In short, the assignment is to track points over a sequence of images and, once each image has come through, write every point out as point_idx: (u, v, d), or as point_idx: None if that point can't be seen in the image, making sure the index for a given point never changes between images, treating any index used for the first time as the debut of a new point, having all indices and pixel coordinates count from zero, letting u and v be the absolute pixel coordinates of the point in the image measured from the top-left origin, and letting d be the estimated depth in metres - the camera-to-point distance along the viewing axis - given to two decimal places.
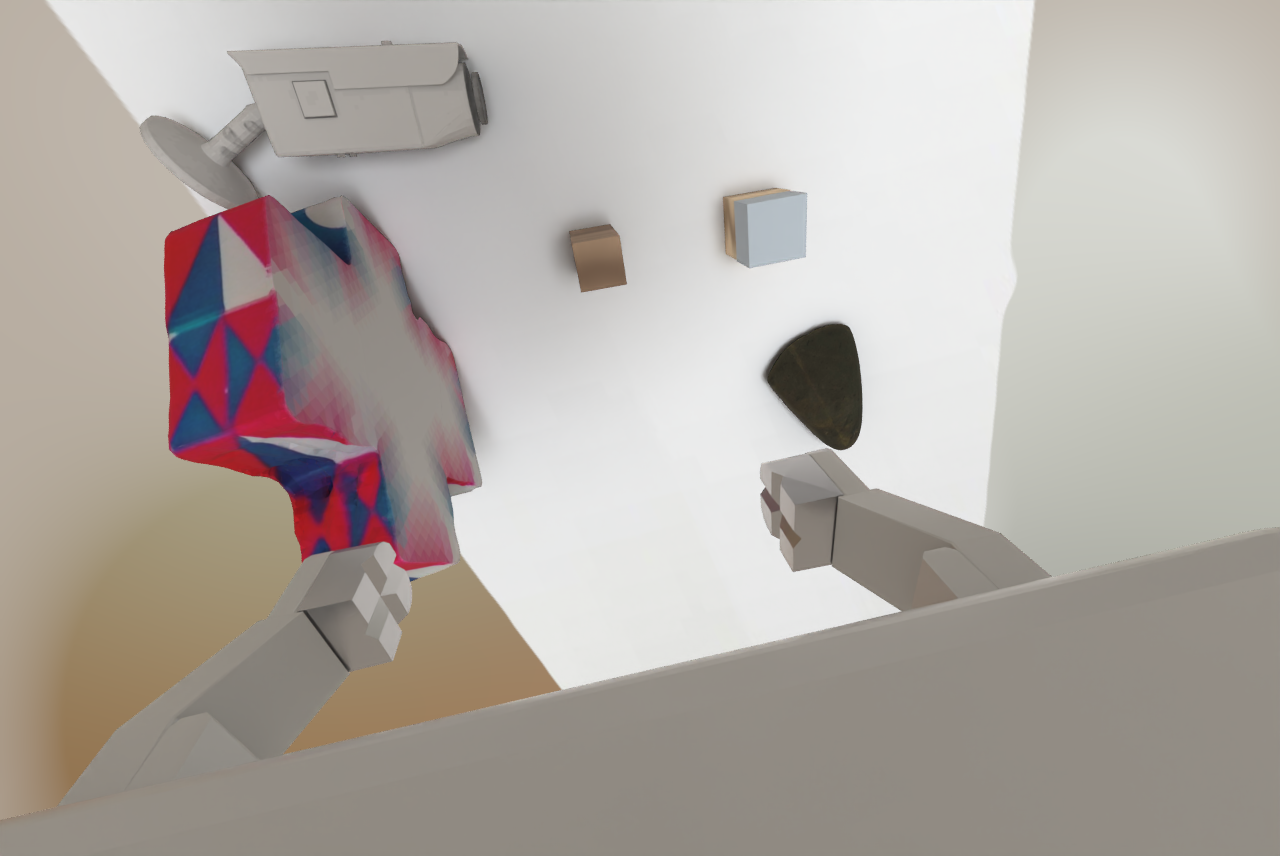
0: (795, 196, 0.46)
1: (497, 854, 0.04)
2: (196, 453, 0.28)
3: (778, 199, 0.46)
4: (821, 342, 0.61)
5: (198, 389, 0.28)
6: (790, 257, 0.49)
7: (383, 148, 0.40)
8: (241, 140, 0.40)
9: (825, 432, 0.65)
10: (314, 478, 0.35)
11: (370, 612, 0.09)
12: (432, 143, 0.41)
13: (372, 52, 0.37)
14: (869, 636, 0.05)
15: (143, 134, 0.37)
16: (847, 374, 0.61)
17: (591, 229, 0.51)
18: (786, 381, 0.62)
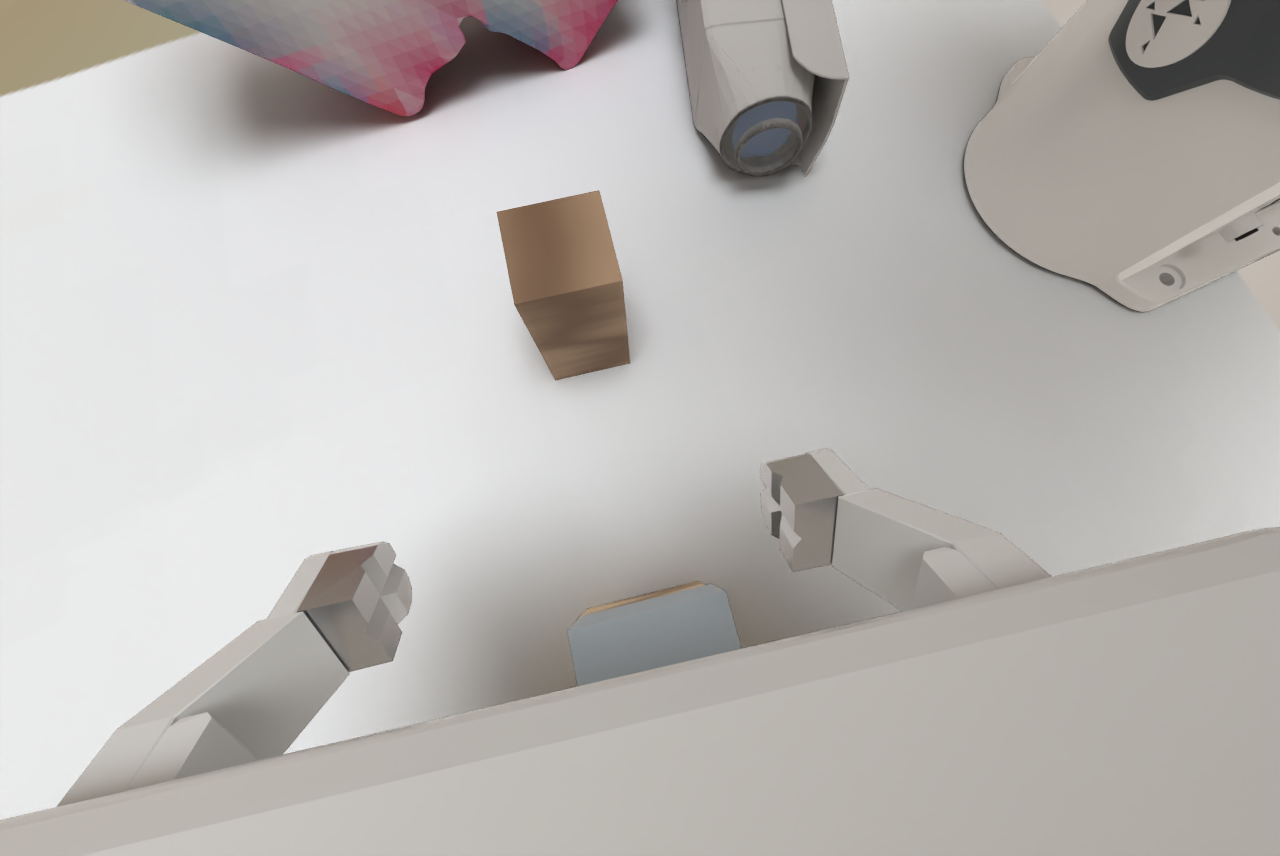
0: None
1: (497, 854, 0.04)
2: None
3: None
4: None
5: None
6: None
7: None
8: None
9: None
10: None
11: (370, 612, 0.09)
12: (710, 44, 0.26)
13: None
14: (869, 636, 0.05)
15: None
16: None
17: None
18: None
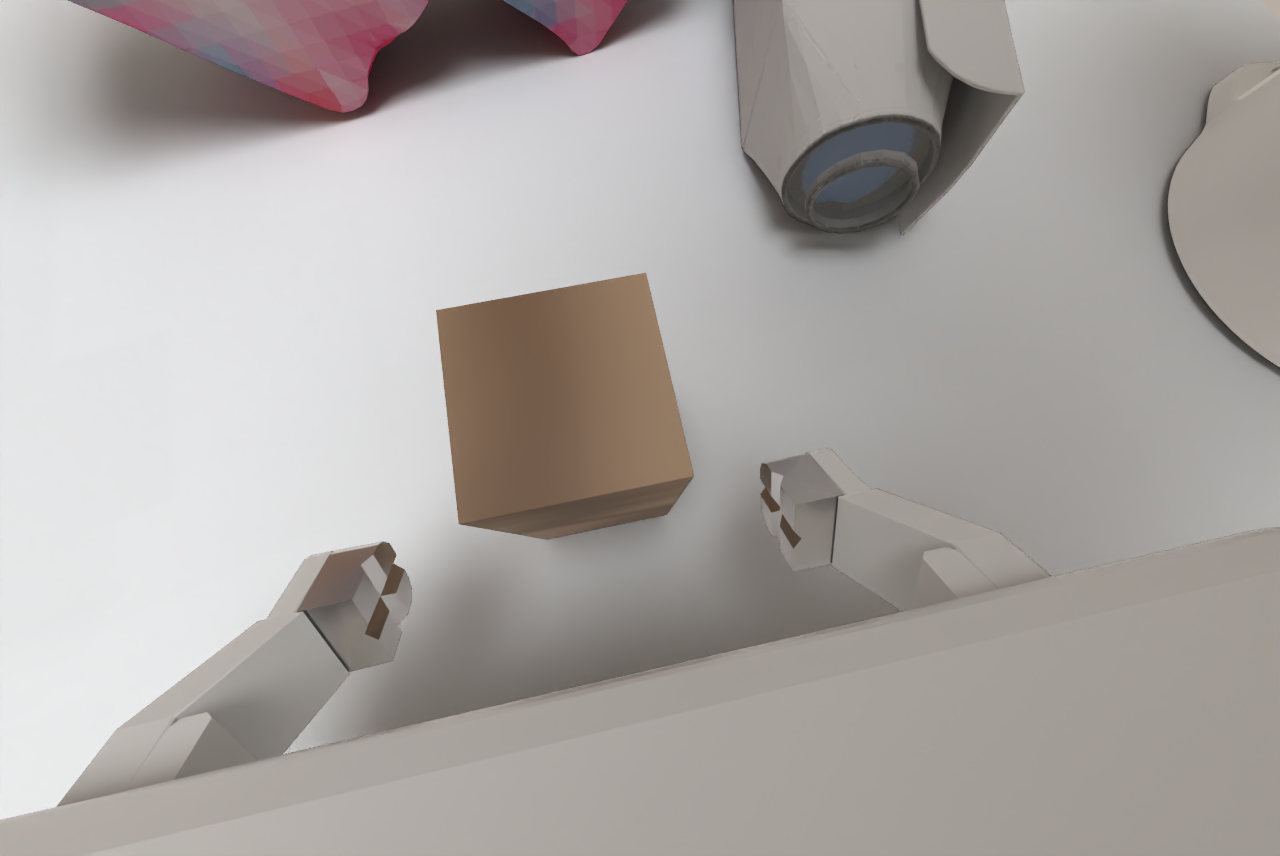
0: None
1: (497, 854, 0.04)
2: None
3: None
4: None
5: None
6: None
7: None
8: None
9: None
10: None
11: (370, 612, 0.09)
12: (787, 20, 0.16)
13: None
14: (869, 636, 0.05)
15: None
16: None
17: None
18: None
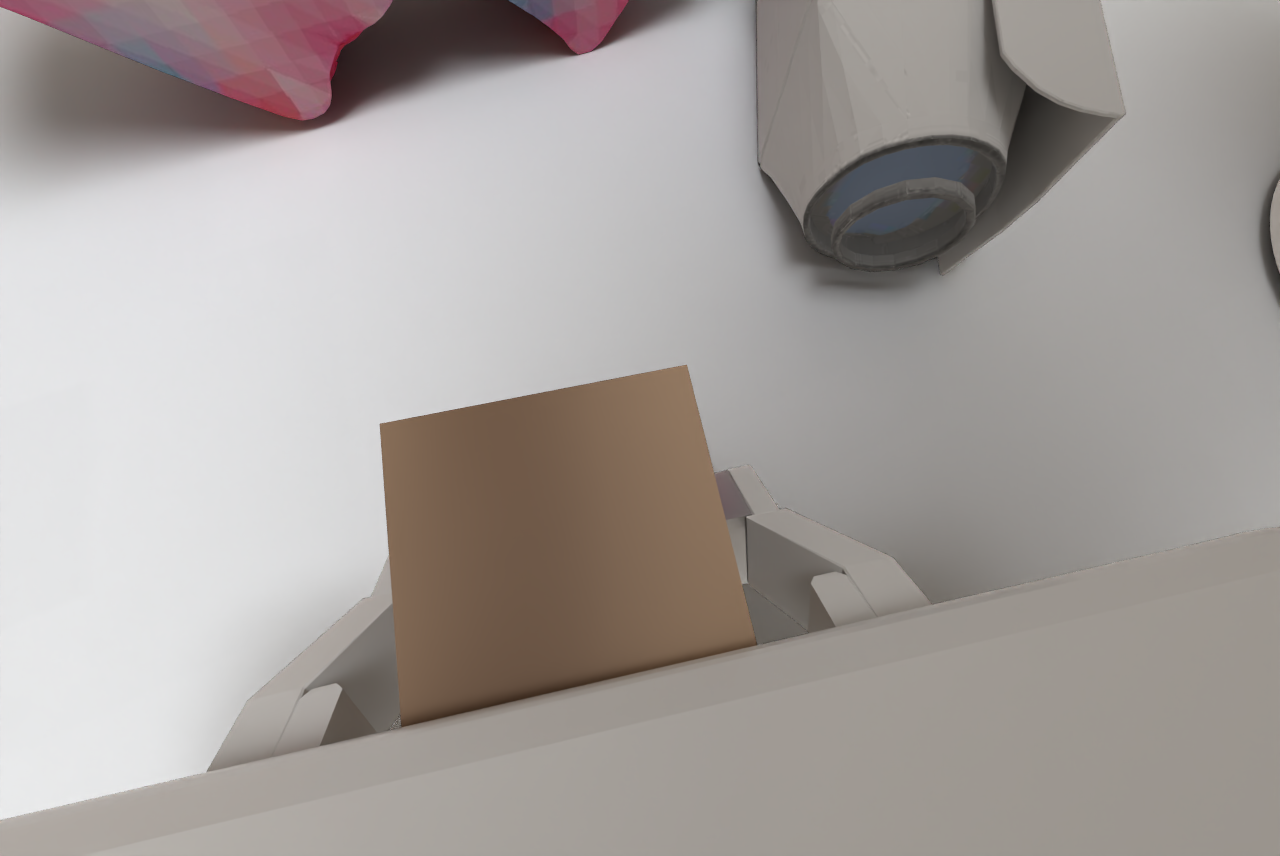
0: None
1: (497, 854, 0.04)
2: None
3: None
4: None
5: None
6: None
7: None
8: None
9: None
10: None
11: None
12: (822, 12, 0.13)
13: None
14: (869, 636, 0.05)
15: None
16: None
17: None
18: None
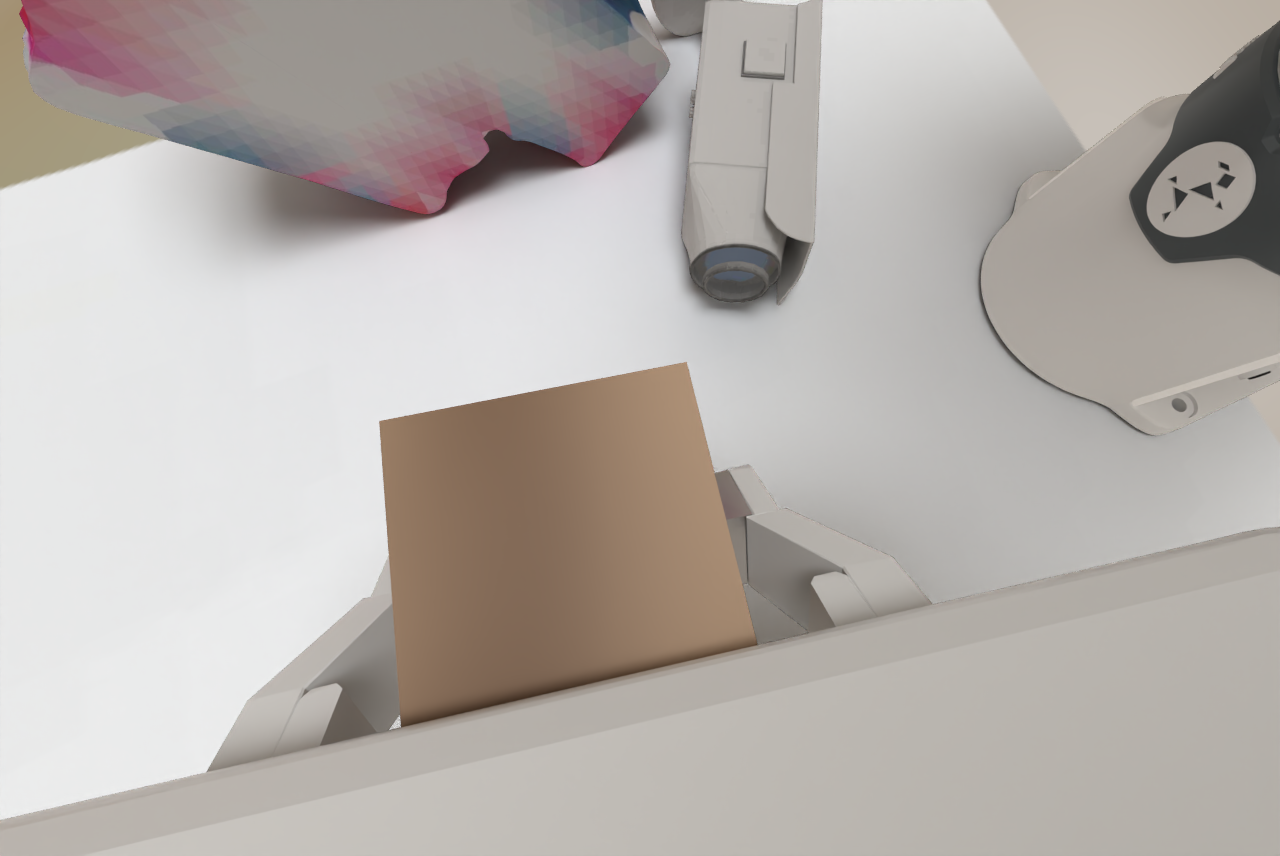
0: None
1: (497, 854, 0.04)
2: None
3: None
4: None
5: None
6: None
7: (695, 114, 0.27)
8: None
9: None
10: None
11: None
12: (691, 179, 0.27)
13: (810, 137, 0.26)
14: (868, 635, 0.05)
15: None
16: None
17: None
18: None
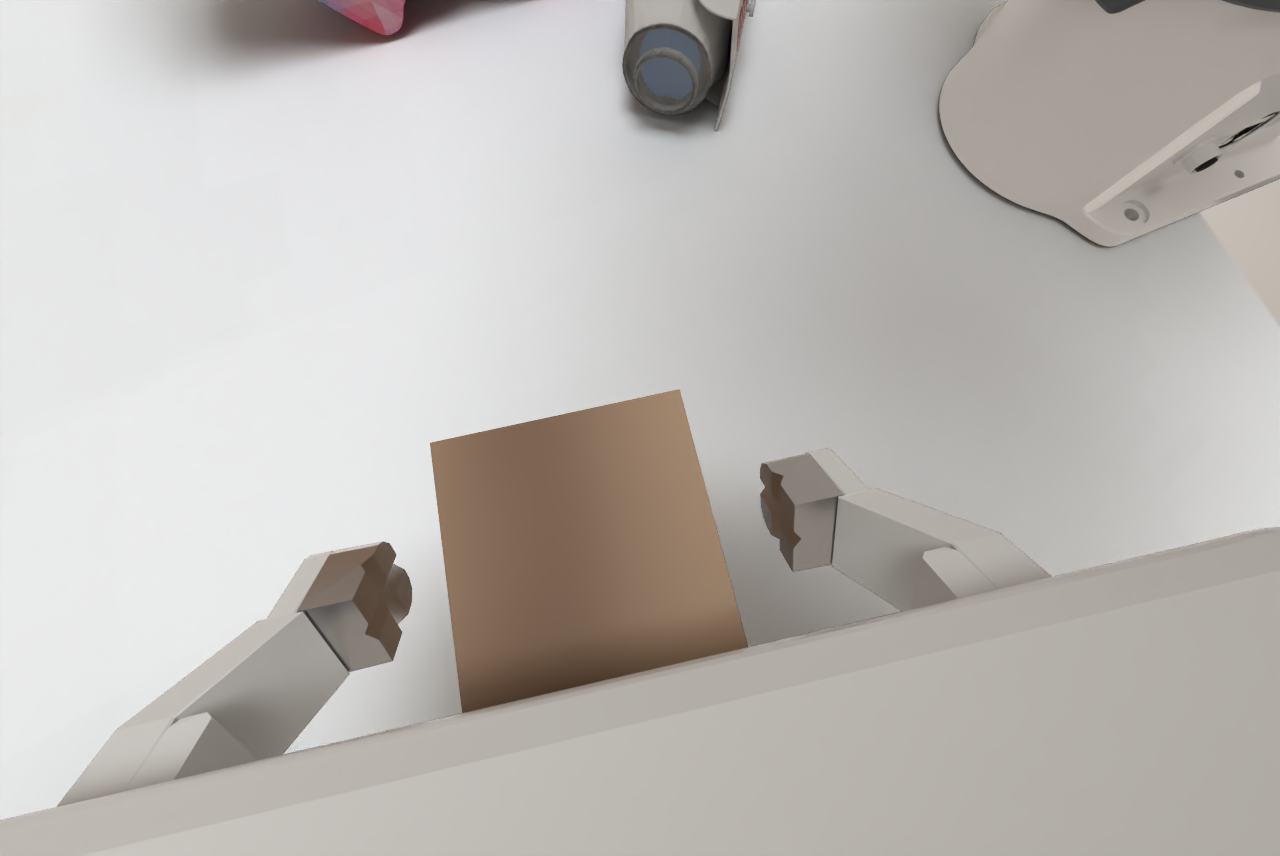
0: None
1: (497, 854, 0.04)
2: None
3: None
4: None
5: None
6: None
7: None
8: None
9: None
10: None
11: (370, 612, 0.09)
12: None
13: None
14: (869, 636, 0.05)
15: None
16: None
17: None
18: None
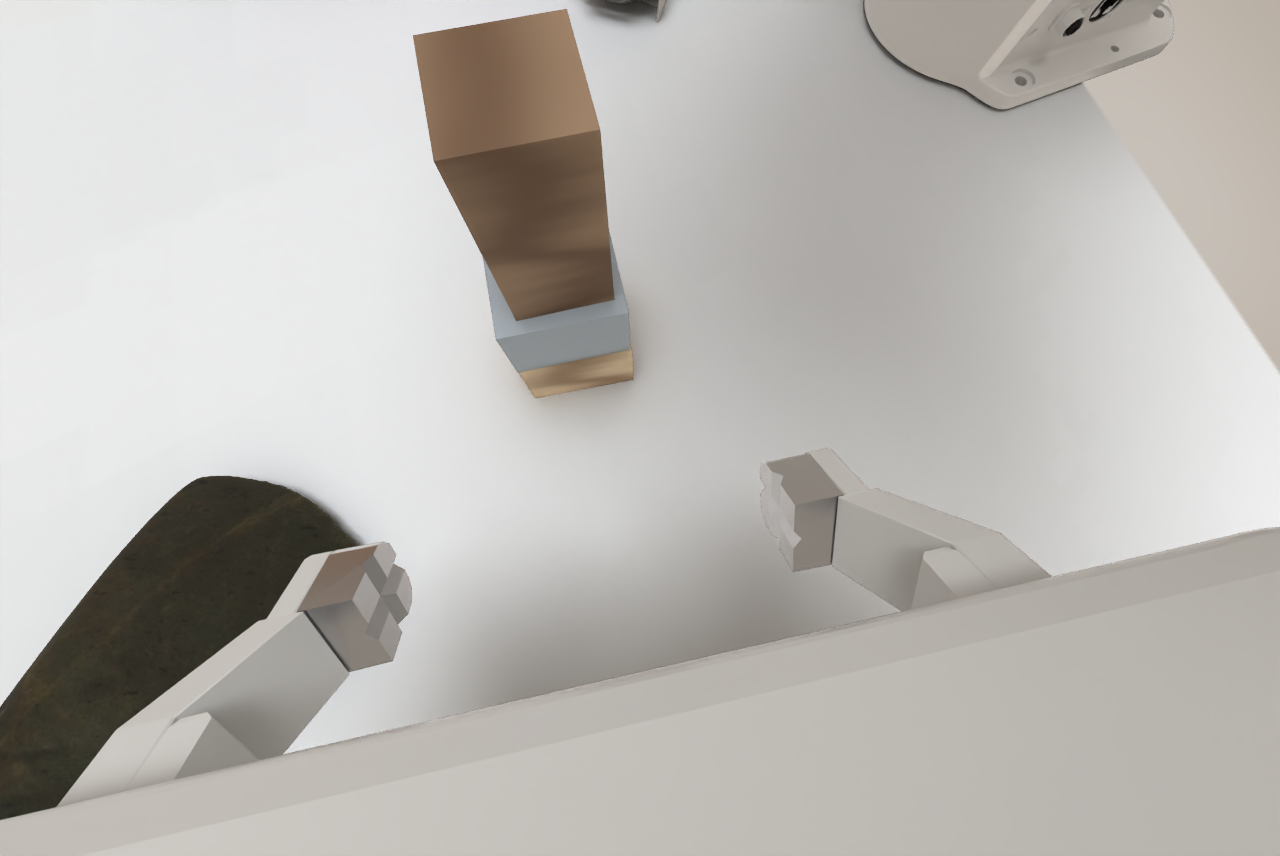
0: (621, 290, 0.22)
1: (497, 854, 0.04)
2: None
3: (613, 259, 0.22)
4: None
5: None
6: (496, 305, 0.22)
7: None
8: None
9: (3, 710, 0.20)
10: None
11: (370, 612, 0.09)
12: None
13: None
14: (869, 636, 0.05)
15: None
16: None
17: None
18: (188, 510, 0.24)
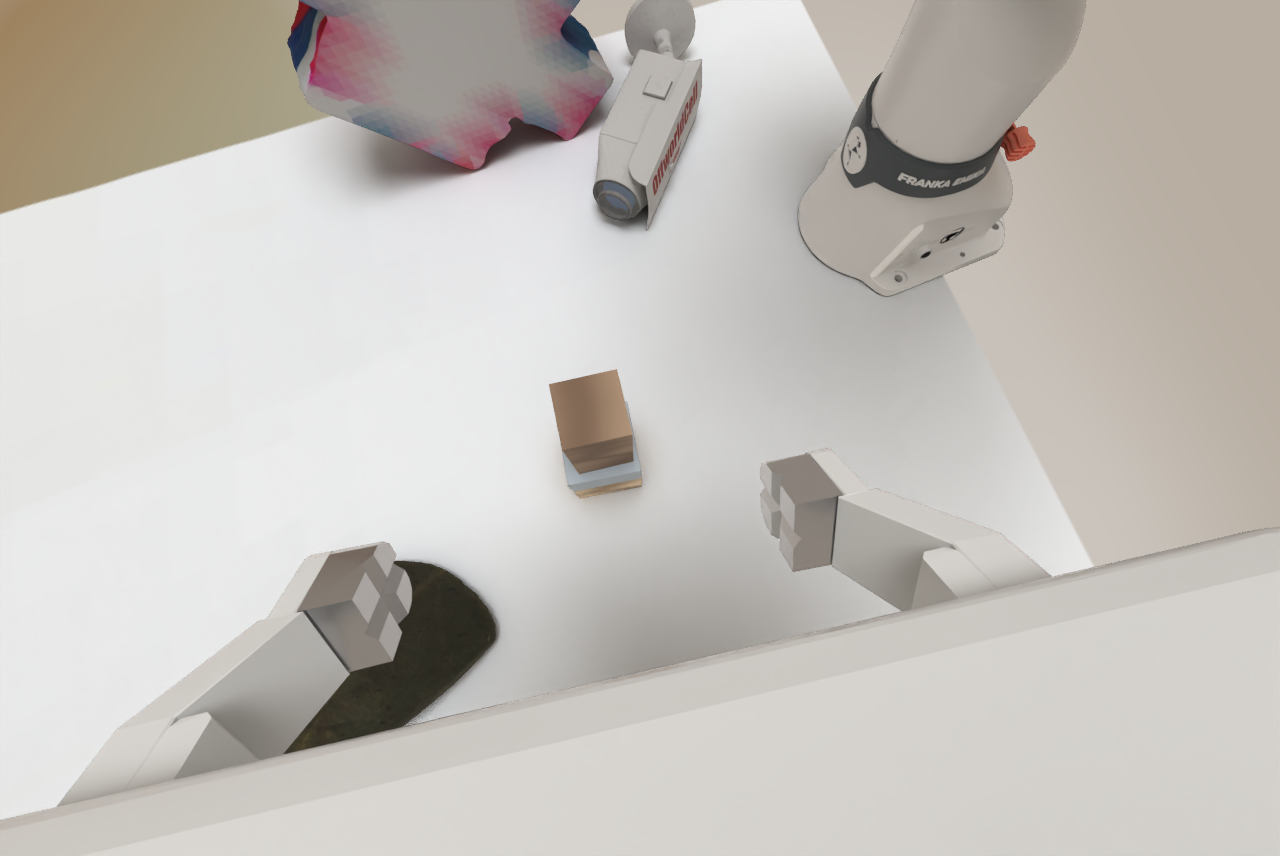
0: (637, 457, 0.39)
1: (497, 854, 0.04)
2: None
3: (633, 437, 0.39)
4: (458, 605, 0.41)
5: None
6: (567, 465, 0.39)
7: (611, 109, 0.50)
8: (661, 53, 0.54)
9: None
10: None
11: (370, 612, 0.09)
12: (599, 142, 0.49)
13: (665, 133, 0.48)
14: (868, 636, 0.05)
15: None
16: (418, 670, 0.38)
17: None
18: None
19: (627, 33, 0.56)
